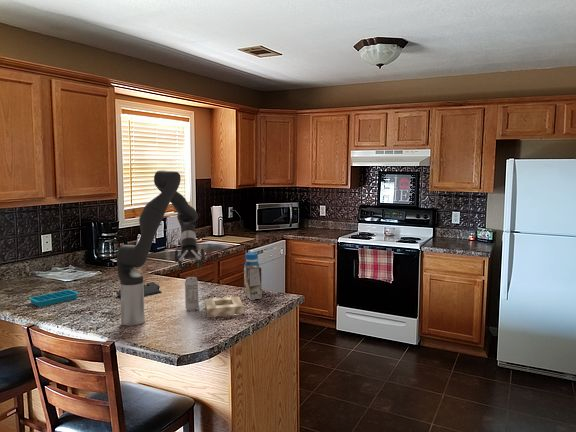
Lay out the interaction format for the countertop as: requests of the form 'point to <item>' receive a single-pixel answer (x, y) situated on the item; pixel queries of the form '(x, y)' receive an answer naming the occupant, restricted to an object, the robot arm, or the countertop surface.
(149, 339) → the countertop surface
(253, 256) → the beverage bottle
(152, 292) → the dark slate chunk
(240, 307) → the socket board
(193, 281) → the energy drink can
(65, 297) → the ice cube tray
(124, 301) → the robot arm
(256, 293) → the coffee box
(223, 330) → the countertop surface
